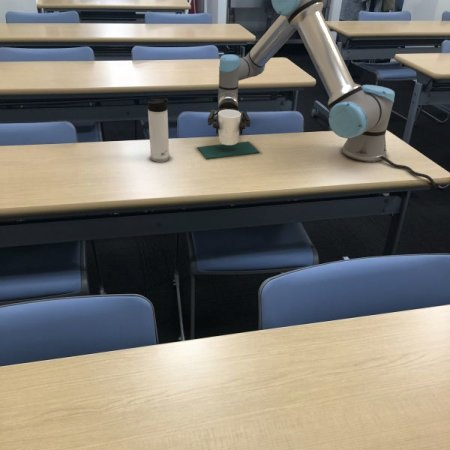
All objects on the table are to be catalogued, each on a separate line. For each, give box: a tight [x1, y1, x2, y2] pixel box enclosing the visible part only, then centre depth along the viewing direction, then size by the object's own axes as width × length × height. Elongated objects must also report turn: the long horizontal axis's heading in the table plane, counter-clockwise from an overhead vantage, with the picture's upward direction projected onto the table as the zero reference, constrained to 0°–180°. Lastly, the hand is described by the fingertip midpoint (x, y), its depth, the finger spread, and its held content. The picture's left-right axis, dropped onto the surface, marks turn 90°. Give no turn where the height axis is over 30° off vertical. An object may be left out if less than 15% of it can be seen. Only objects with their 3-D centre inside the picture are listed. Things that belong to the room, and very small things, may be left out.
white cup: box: [218, 110, 241, 145], centre depth 169 cm, size 8×8×10 cm
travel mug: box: [147, 97, 170, 163], centre depth 161 cm, size 6×7×20 cm
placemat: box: [197, 141, 260, 160], centre depth 174 cm, size 10×20×1 cm, turn 111°
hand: (229, 130), depth 165 cm, fingers closed on white cup, 8 cm apart
